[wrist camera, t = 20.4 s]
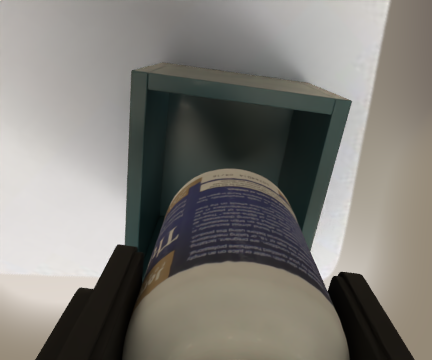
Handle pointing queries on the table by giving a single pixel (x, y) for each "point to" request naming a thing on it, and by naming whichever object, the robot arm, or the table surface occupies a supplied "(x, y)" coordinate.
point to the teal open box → (226, 140)
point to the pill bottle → (233, 280)
